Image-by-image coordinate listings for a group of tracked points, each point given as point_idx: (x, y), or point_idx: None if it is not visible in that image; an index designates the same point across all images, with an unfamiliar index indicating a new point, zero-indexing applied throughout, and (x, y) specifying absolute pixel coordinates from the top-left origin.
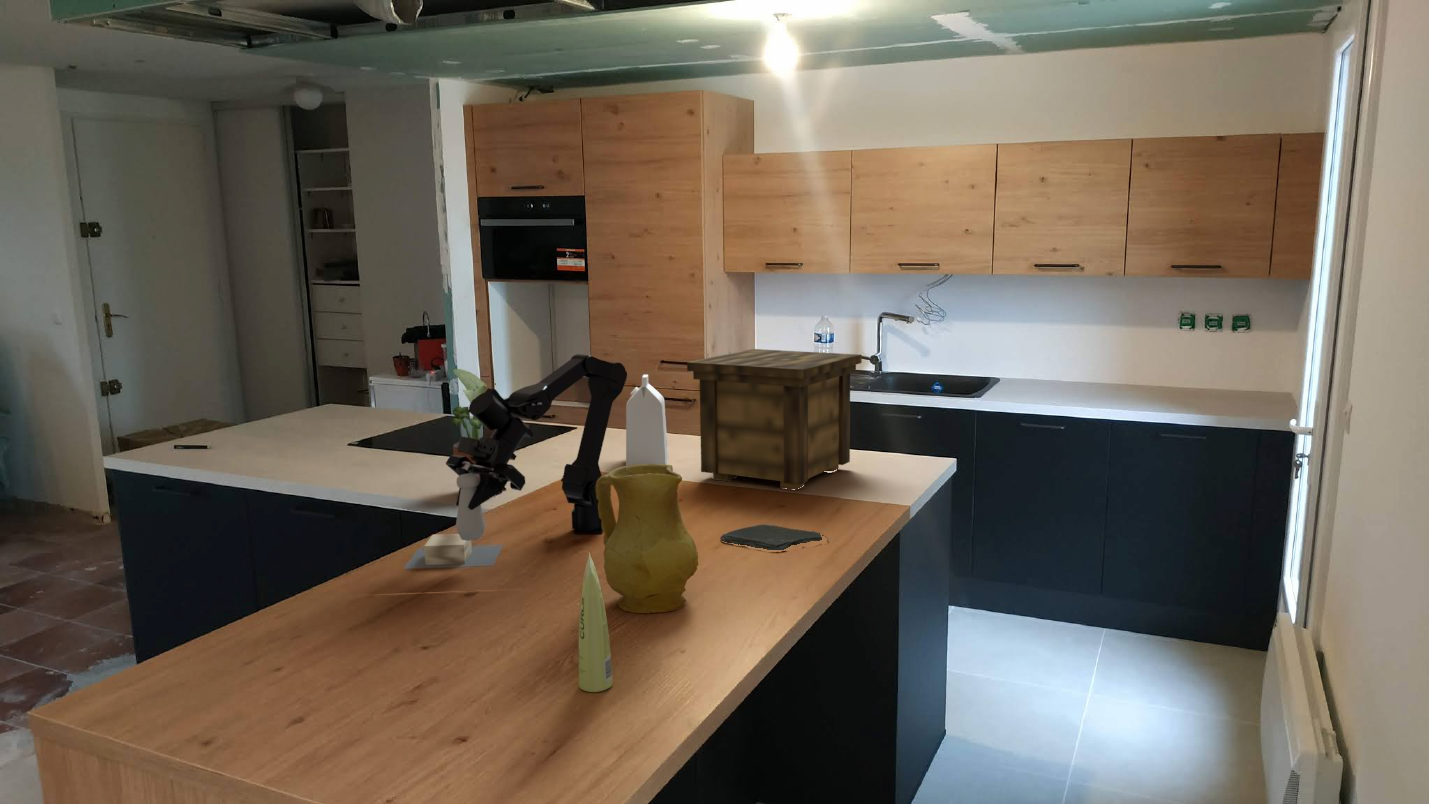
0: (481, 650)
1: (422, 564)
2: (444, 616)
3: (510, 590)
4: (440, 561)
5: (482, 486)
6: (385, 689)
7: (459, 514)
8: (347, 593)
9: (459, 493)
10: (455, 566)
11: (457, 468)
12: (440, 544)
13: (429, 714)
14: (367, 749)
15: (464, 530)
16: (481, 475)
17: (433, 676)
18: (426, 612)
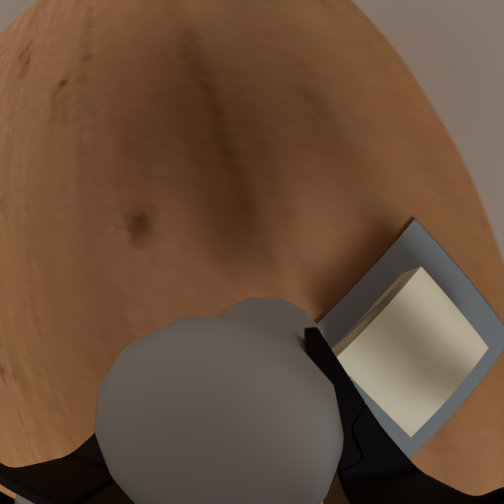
0: (11, 129)
1: (409, 270)
2: (102, 135)
3: (91, 295)
4: (376, 303)
5: (92, 438)
6: (48, 40)
7: (262, 309)
8: (352, 78)
9: (333, 377)
10: (326, 319)
11: (501, 500)
12: (397, 310)
13: (5, 62)
14: (20, 28)
15: (233, 305)
16: (64, 491)
17: (25, 75)
18: (139, 121)
